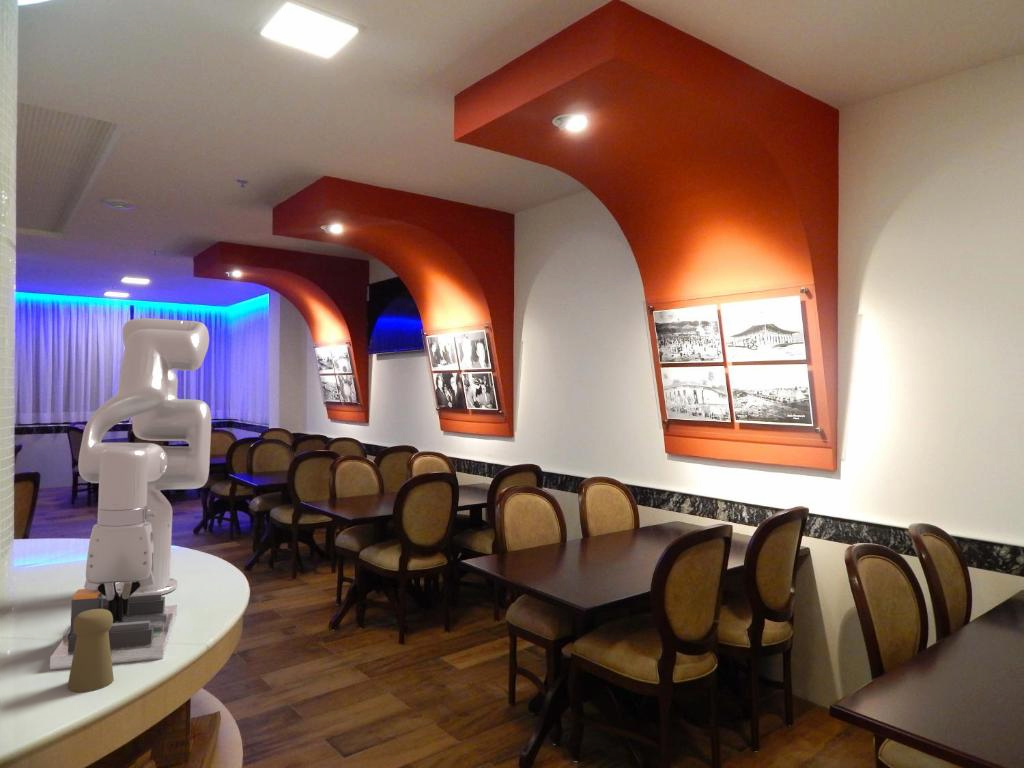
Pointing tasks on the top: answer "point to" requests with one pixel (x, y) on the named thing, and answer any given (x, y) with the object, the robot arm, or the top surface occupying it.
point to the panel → (127, 653)
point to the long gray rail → (131, 630)
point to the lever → (85, 602)
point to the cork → (91, 652)
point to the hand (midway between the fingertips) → (118, 619)
